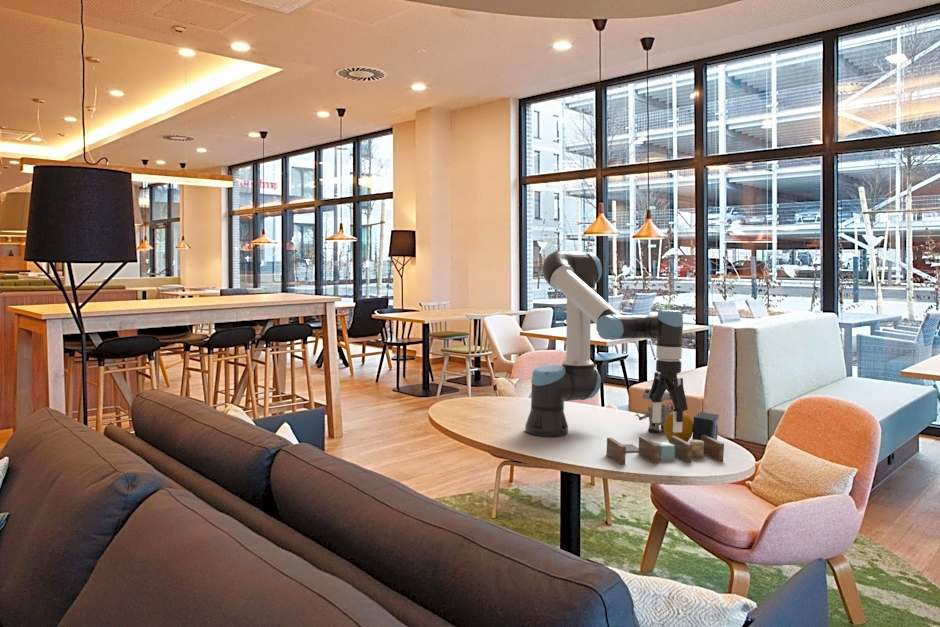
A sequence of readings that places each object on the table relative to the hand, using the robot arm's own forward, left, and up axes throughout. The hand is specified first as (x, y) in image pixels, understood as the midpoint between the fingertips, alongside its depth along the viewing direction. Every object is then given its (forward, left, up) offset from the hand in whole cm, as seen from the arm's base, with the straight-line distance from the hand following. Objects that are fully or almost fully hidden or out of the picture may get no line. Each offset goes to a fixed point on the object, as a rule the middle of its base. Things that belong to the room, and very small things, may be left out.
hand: (666, 427), depth 214 cm
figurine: (+14, +34, -10) cm, 38 cm away
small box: (+21, +12, -10) cm, 26 cm away
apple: (+12, +14, -10) cm, 21 cm away
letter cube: (0, 0, -10) cm, 10 cm away
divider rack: (0, 0, -10) cm, 10 cm away
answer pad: (-8, +11, -10) cm, 17 cm away
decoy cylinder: (+11, 0, -10) cm, 15 cm away
